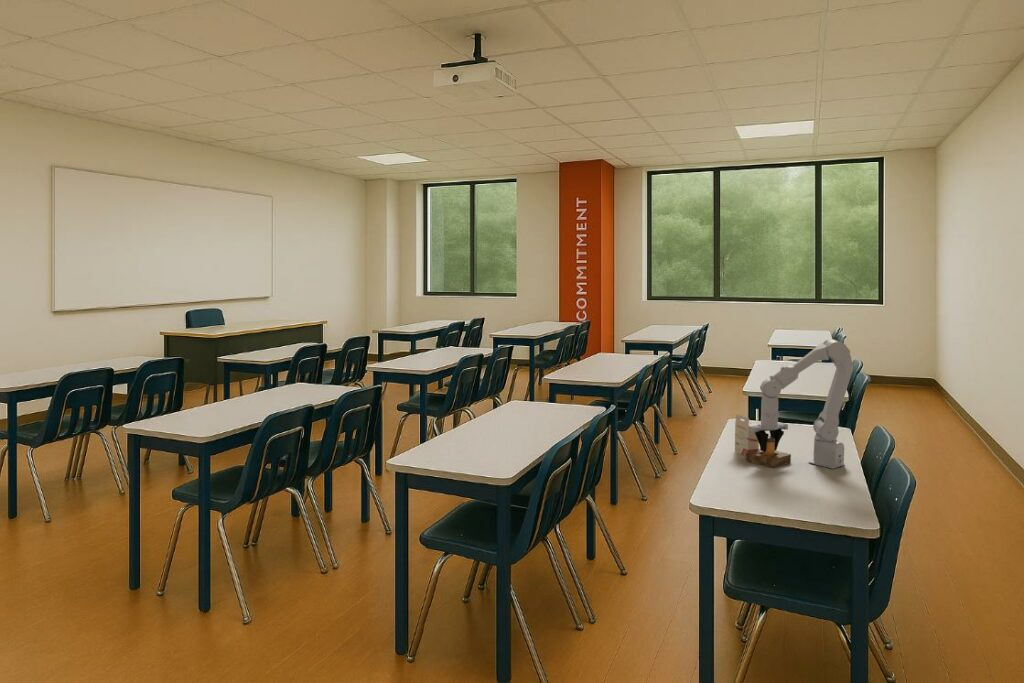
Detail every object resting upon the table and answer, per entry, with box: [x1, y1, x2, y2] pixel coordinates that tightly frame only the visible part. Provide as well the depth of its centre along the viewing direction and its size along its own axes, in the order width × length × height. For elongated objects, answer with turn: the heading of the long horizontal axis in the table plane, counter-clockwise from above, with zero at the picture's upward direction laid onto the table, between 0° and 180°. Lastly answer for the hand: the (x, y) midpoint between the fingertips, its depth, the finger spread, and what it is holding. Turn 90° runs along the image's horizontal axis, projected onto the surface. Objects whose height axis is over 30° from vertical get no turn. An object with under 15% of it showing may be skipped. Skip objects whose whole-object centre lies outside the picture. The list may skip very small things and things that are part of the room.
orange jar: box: [763, 435, 776, 457], centre depth 255 cm, size 4×4×8 cm
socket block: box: [745, 448, 792, 469], centre depth 256 cm, size 11×11×3 cm
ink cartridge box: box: [734, 413, 760, 457], centre depth 266 cm, size 9×5×15 cm, turn 17°
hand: (768, 450), depth 256 cm, fingers closed on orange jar, 4 cm apart
